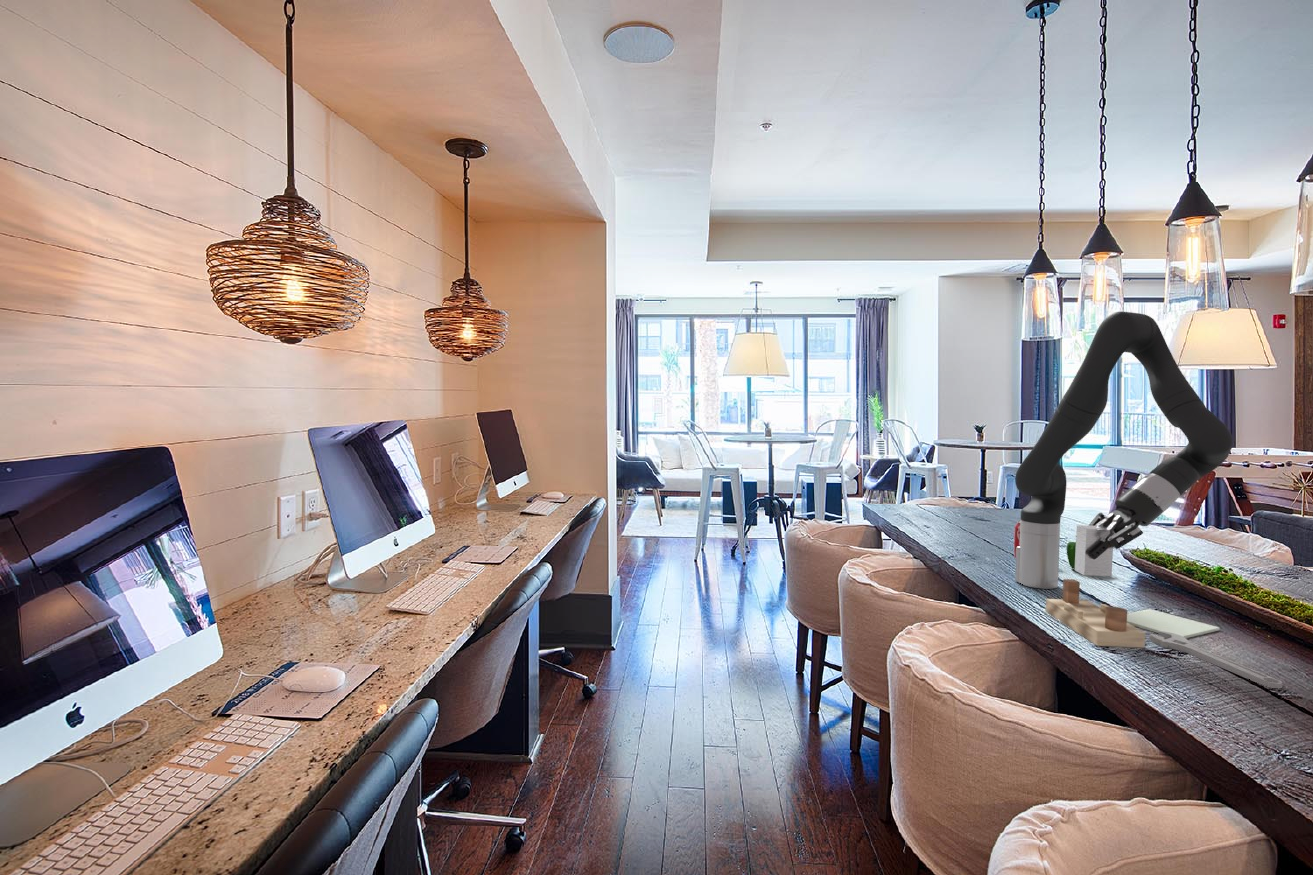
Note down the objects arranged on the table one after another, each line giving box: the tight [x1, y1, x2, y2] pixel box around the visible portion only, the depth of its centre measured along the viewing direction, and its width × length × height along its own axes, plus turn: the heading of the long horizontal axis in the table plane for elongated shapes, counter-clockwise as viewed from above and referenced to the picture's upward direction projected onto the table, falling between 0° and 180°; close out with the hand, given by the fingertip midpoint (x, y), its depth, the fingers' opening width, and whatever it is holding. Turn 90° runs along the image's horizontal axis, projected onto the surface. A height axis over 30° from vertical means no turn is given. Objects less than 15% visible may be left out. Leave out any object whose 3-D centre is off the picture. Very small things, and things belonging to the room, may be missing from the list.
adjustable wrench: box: [1149, 631, 1283, 689], centre depth 127 cm, size 25×6×2 cm, turn 1°
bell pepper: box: [1066, 541, 1076, 571], centre depth 194 cm, size 8×8×10 cm
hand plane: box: [1045, 578, 1146, 648], centre depth 145 cm, size 22×9×8 cm, turn 174°
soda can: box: [1013, 519, 1021, 559], centre depth 206 cm, size 7×7×12 cm
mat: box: [1127, 608, 1221, 639], centre depth 147 cm, size 14×14×1 cm
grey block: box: [1074, 524, 1114, 577], centre depth 144 cm, size 4×6×10 cm
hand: (1084, 553), depth 144 cm, fingers closed on grey block, 4 cm apart
